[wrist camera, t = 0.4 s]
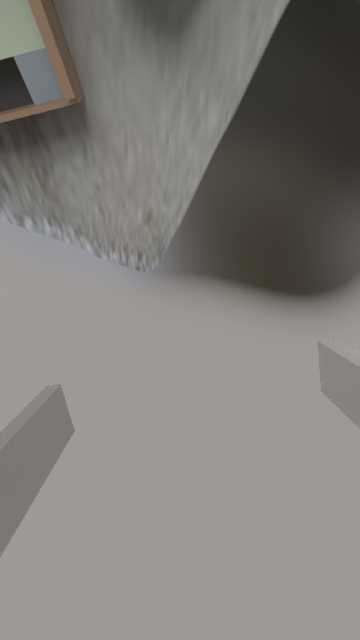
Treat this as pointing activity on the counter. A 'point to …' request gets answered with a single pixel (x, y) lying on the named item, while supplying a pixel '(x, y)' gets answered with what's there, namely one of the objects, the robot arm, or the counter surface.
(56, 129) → the counter surface
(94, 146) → the counter surface
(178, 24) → the counter surface
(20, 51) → the box
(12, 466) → the robot arm
